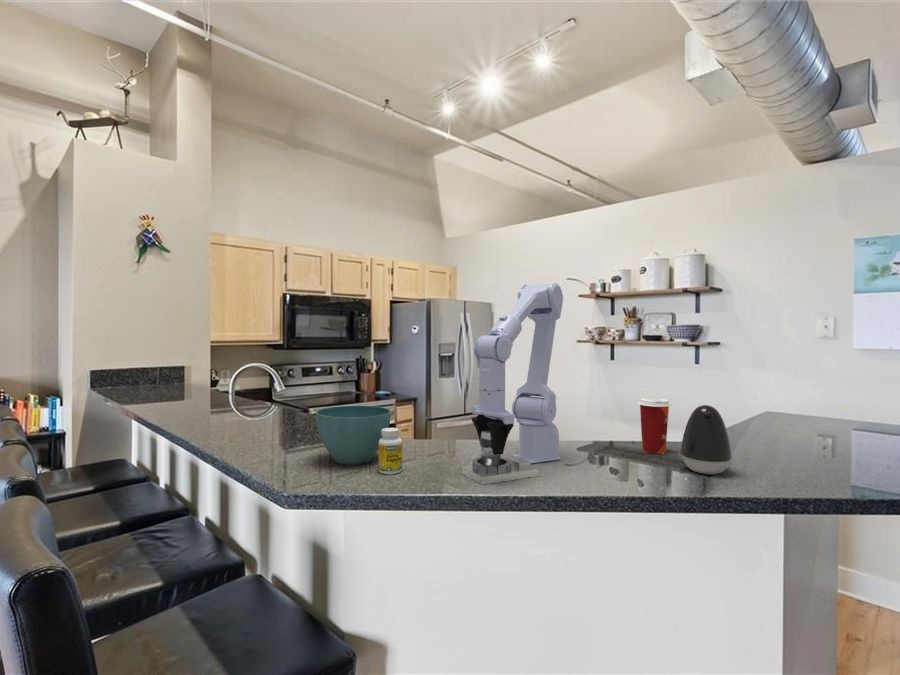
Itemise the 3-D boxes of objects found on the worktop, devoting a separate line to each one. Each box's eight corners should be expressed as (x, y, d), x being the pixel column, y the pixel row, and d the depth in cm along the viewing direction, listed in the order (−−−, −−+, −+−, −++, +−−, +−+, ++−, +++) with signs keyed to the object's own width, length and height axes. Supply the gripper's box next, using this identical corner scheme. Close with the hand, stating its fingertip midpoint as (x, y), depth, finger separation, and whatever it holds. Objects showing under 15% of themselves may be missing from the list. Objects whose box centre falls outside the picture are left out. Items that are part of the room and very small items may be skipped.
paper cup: (674, 455, 125) (675, 401, 125) (644, 455, 125) (645, 401, 125) (662, 448, 133) (662, 397, 132) (633, 448, 133) (634, 397, 132)
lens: (494, 459, 110) (495, 427, 109) (505, 464, 105) (505, 431, 105) (476, 460, 108) (476, 428, 108) (485, 467, 104) (486, 433, 103)
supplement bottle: (395, 466, 114) (395, 426, 114) (406, 472, 109) (406, 430, 109) (374, 470, 111) (374, 428, 111) (384, 476, 106) (384, 432, 106)
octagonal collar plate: (514, 466, 115) (514, 452, 115) (537, 476, 107) (537, 461, 107) (462, 473, 109) (462, 459, 109) (482, 484, 101) (482, 469, 100)
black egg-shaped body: (683, 475, 108) (684, 407, 107) (678, 463, 117) (679, 400, 117) (735, 480, 104) (736, 409, 104) (726, 467, 114) (727, 403, 114)
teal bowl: (383, 449, 131) (383, 403, 131) (397, 466, 114) (397, 414, 114) (313, 454, 125) (313, 406, 125) (317, 473, 108) (317, 419, 108)
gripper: (460, 387, 111) (460, 446, 111) (493, 394, 98) (493, 461, 98) (487, 385, 114) (487, 443, 115) (522, 392, 101) (522, 457, 102)
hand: (491, 451), depth 107 cm, fingers closed on lens, 5 cm apart
